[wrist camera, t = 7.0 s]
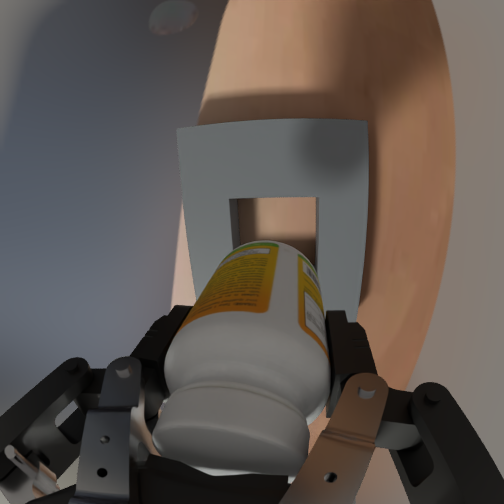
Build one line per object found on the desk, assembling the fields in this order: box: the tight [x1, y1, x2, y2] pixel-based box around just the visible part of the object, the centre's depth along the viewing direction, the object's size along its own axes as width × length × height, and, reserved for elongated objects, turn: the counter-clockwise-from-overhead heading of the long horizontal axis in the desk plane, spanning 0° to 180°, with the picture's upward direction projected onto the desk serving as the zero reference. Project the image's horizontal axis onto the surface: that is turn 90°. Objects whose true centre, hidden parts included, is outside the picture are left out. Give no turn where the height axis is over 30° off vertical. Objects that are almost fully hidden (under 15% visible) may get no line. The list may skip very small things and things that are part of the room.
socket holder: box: [177, 118, 369, 322], centre depth 23 cm, size 18×14×3 cm
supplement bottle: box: [152, 240, 331, 483], centre depth 10 cm, size 5×5×10 cm
